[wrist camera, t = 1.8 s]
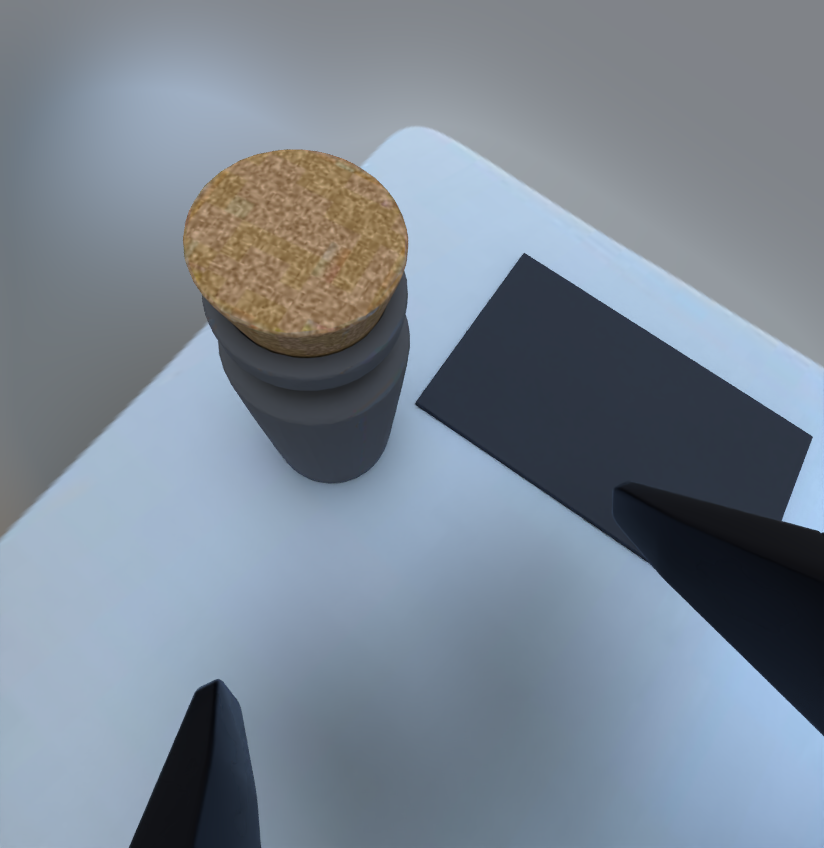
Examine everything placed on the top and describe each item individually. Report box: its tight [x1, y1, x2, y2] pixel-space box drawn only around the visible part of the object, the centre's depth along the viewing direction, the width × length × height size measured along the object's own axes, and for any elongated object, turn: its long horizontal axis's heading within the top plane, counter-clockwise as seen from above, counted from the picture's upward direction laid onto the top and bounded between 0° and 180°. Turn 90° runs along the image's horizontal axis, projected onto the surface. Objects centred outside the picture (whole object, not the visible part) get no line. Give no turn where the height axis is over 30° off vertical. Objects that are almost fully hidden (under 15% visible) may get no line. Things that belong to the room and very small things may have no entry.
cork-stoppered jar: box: [183, 149, 410, 483], centre depth 17 cm, size 6×6×15 cm
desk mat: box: [416, 253, 813, 561], centre depth 26 cm, size 20×12×1 cm, turn 56°
